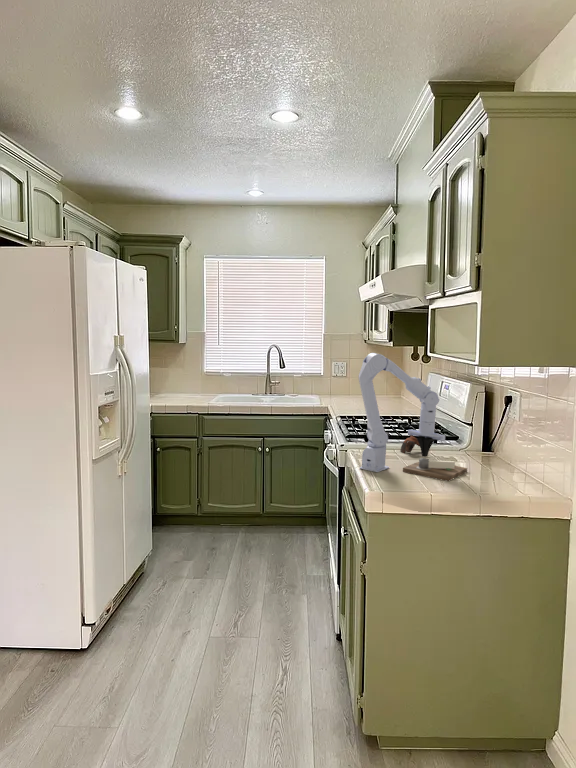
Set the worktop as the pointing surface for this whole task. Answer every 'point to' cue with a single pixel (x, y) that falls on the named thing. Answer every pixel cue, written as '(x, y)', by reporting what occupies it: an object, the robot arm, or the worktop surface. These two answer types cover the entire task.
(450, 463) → the peg lever
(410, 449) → the pottery mug
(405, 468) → the brown flat square board
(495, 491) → the worktop surface
